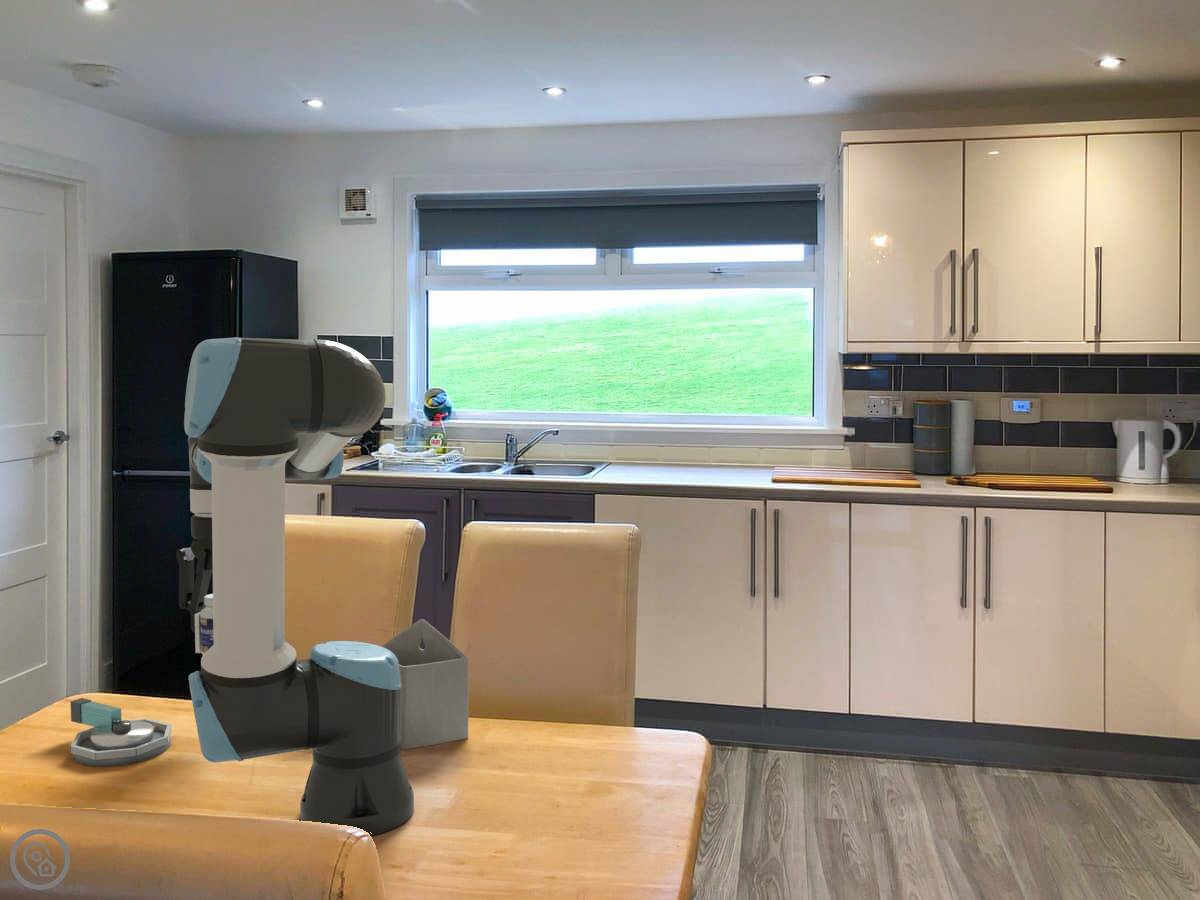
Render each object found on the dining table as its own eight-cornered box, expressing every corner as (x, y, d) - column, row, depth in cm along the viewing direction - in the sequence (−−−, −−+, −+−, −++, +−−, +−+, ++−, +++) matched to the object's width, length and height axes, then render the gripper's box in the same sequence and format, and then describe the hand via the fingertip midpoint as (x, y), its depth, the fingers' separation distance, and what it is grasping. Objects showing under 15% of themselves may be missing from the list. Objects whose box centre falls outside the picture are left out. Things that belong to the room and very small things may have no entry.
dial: (166, 735, 162) (165, 707, 162) (116, 754, 154) (115, 724, 154) (101, 719, 170) (100, 691, 169) (51, 736, 162) (50, 707, 161)
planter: (356, 744, 164) (354, 626, 162) (379, 727, 171) (378, 615, 170) (449, 755, 159) (449, 634, 158) (469, 737, 167) (468, 622, 165)
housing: (190, 742, 164) (189, 728, 163) (113, 773, 151) (112, 758, 151) (131, 727, 170) (131, 714, 170) (53, 755, 158) (52, 741, 158)
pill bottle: (194, 656, 166) (192, 597, 166) (215, 648, 172) (213, 591, 171) (222, 658, 165) (220, 599, 164) (242, 650, 170) (241, 593, 169)
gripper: (278, 511, 168) (281, 649, 170) (179, 508, 172) (183, 642, 174) (253, 518, 161) (257, 661, 163) (151, 514, 165) (155, 654, 167)
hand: (218, 651), depth 168 cm, fingers closed on pill bottle, 5 cm apart
